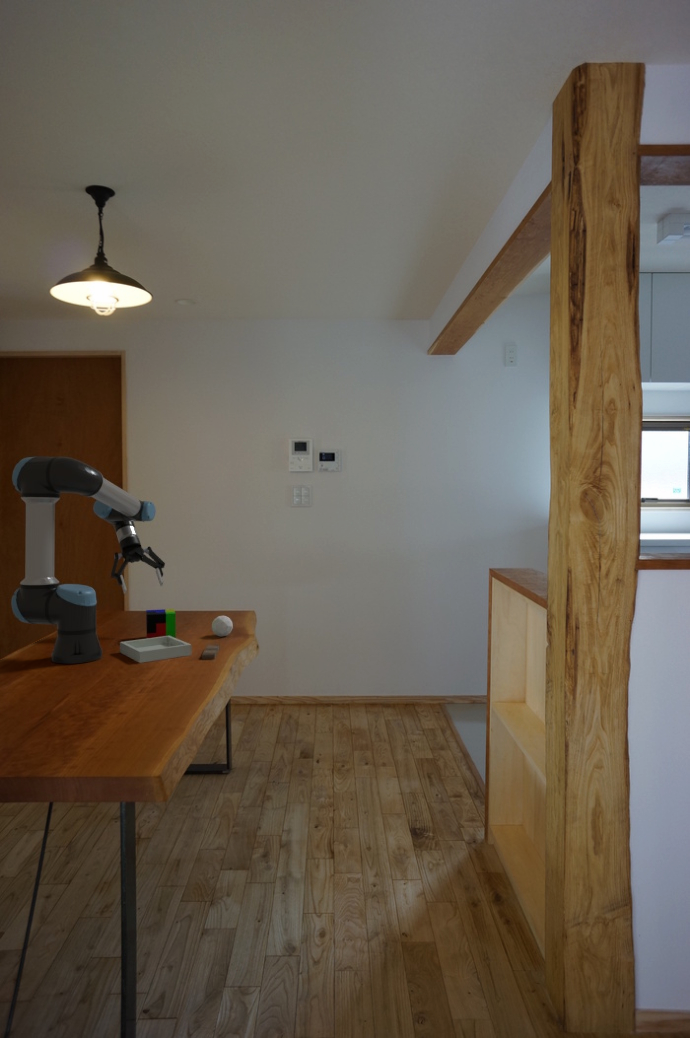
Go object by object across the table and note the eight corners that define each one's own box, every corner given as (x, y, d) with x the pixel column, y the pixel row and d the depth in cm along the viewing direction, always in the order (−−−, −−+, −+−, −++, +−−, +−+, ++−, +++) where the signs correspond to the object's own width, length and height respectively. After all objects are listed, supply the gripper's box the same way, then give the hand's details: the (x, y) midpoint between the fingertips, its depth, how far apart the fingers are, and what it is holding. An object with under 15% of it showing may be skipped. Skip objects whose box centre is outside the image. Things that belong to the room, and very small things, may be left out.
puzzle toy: (146, 636, 248) (146, 610, 248) (174, 635, 251) (174, 608, 251) (146, 642, 239) (146, 614, 238) (175, 640, 242) (175, 613, 241)
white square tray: (139, 662, 210) (139, 651, 209) (120, 652, 223) (120, 642, 223) (191, 655, 220) (191, 644, 220) (169, 645, 234) (169, 635, 234)
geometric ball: (222, 644, 249) (215, 629, 244) (211, 633, 254) (205, 619, 249) (239, 632, 252) (232, 618, 247) (228, 622, 257) (222, 607, 252)
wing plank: (214, 660, 215) (214, 654, 215) (201, 660, 215) (201, 654, 215) (219, 650, 229) (219, 644, 229) (207, 650, 229) (207, 644, 229)
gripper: (159, 539, 268) (174, 585, 259) (94, 551, 255) (108, 599, 247) (162, 529, 262) (178, 576, 254) (96, 541, 249) (110, 590, 241)
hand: (144, 588), depth 250 cm, fingers open, 13 cm apart
